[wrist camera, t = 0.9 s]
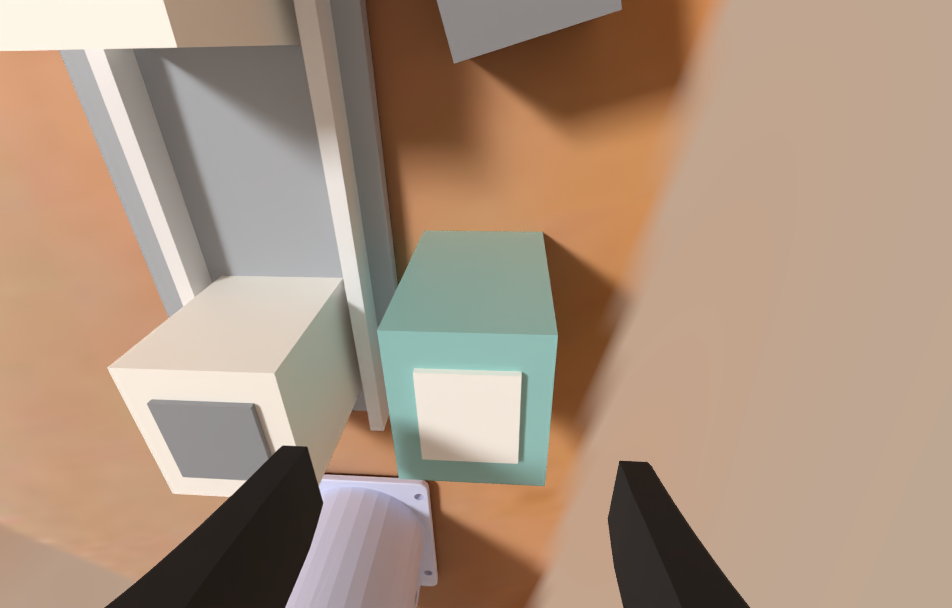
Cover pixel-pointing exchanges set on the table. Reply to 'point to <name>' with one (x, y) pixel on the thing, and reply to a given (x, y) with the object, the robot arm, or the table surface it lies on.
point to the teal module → (471, 359)
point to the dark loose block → (511, 21)
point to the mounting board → (238, 216)
